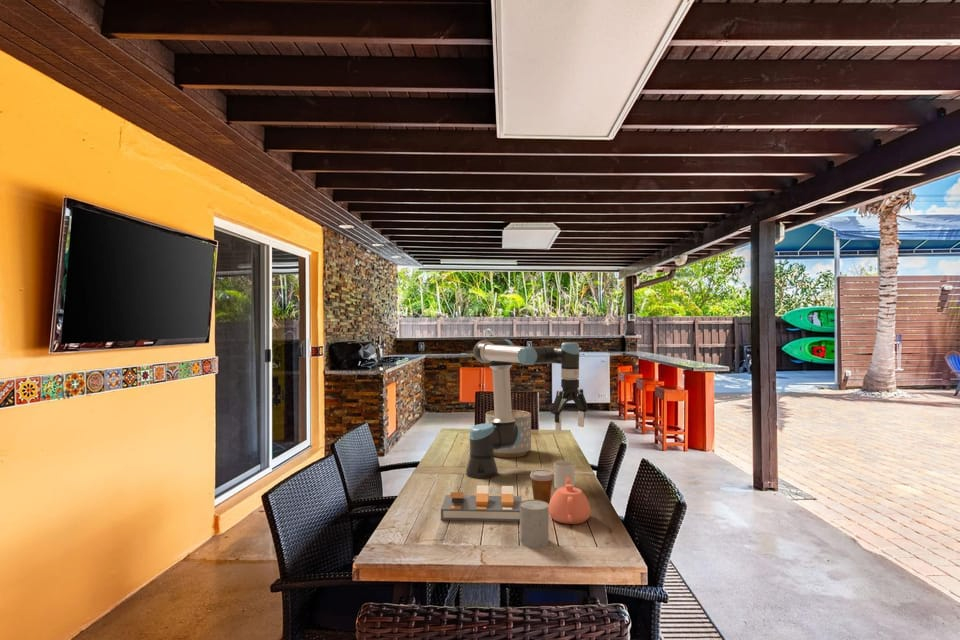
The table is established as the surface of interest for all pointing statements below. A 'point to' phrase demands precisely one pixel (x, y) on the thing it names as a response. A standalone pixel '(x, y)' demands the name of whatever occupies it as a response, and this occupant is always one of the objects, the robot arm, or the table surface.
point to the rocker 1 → (457, 495)
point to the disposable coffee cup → (541, 484)
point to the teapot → (569, 505)
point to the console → (479, 509)
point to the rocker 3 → (507, 496)
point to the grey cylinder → (534, 523)
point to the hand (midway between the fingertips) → (569, 428)
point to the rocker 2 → (482, 495)
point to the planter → (525, 440)
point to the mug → (563, 473)
